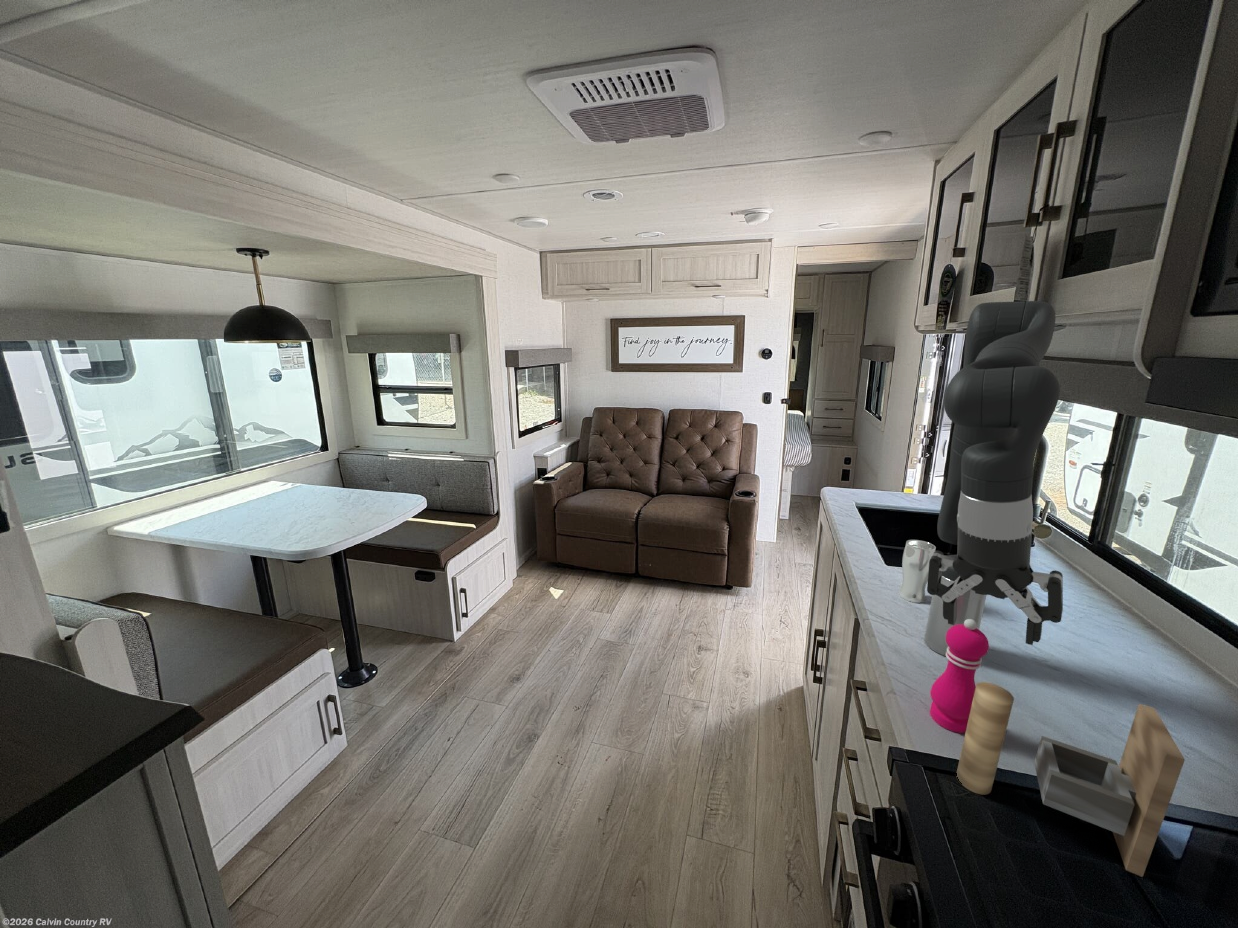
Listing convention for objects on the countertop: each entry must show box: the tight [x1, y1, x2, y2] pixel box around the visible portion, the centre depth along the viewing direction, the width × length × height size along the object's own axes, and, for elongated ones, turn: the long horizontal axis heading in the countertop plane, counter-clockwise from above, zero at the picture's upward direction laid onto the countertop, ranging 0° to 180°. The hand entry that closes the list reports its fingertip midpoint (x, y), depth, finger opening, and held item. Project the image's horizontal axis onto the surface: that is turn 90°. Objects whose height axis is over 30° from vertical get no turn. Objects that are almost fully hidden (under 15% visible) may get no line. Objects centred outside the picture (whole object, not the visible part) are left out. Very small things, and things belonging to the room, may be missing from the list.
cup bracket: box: [1033, 703, 1186, 878], centre depth 66 cm, size 10×10×18 cm
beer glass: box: [898, 539, 937, 604], centre depth 127 cm, size 7×7×15 cm
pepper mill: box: [929, 619, 990, 734], centre depth 84 cm, size 7×7×20 cm
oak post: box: [956, 681, 1015, 796], centre depth 73 cm, size 4×4×16 cm
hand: (989, 630), depth 67 cm, fingers open, 8 cm apart
